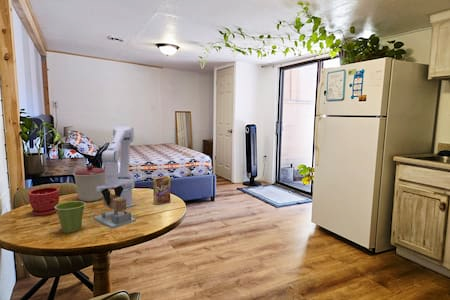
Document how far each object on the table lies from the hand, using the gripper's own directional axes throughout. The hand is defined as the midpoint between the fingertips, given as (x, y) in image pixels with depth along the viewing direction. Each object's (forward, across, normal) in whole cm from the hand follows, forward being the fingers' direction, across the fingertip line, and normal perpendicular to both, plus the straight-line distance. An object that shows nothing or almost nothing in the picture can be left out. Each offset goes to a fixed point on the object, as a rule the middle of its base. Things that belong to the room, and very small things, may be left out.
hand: (112, 203), depth 132 cm
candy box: (+8, +31, +3) cm, 32 cm away
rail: (+2, 0, -2) cm, 2 cm away
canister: (+8, +8, +41) cm, 43 cm away
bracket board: (+8, 0, -1) cm, 8 cm away
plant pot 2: (+8, -18, +2) cm, 20 cm away
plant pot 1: (+8, -18, +35) cm, 40 cm away
